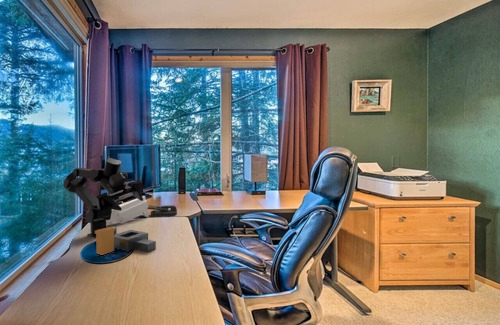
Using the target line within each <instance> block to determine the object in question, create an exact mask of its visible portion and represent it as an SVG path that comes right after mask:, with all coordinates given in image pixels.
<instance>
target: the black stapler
mask: <svg viewBox="0 0 500 325" xmlns="http://www.w3.org/2000/svg"><path fill="white" fill-rule="evenodd" d="M147 209H148V210H151V211H150V216H151V217H174V216H178V209H177V206H176V205H169V204H167V205H161V206H158V205H152V204H151V205H149V204H148V207H147Z"/></svg>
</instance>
